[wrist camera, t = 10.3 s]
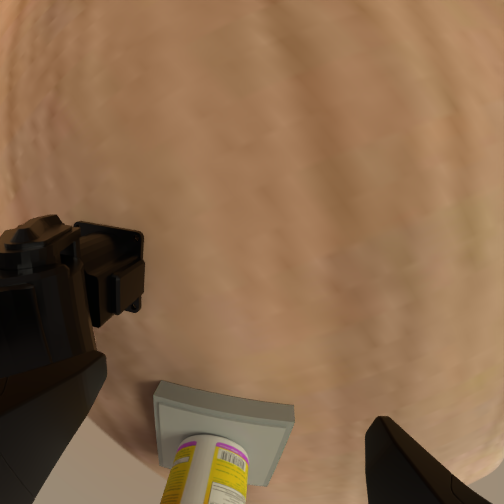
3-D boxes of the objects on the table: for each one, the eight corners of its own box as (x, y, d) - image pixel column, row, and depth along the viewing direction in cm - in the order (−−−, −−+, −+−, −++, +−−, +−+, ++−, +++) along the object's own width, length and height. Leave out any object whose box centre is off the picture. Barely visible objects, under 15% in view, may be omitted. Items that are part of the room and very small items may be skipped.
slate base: (164, 452, 26) (158, 467, 24) (161, 380, 23) (152, 397, 21) (267, 472, 26) (266, 488, 23) (293, 405, 23) (294, 424, 21)
